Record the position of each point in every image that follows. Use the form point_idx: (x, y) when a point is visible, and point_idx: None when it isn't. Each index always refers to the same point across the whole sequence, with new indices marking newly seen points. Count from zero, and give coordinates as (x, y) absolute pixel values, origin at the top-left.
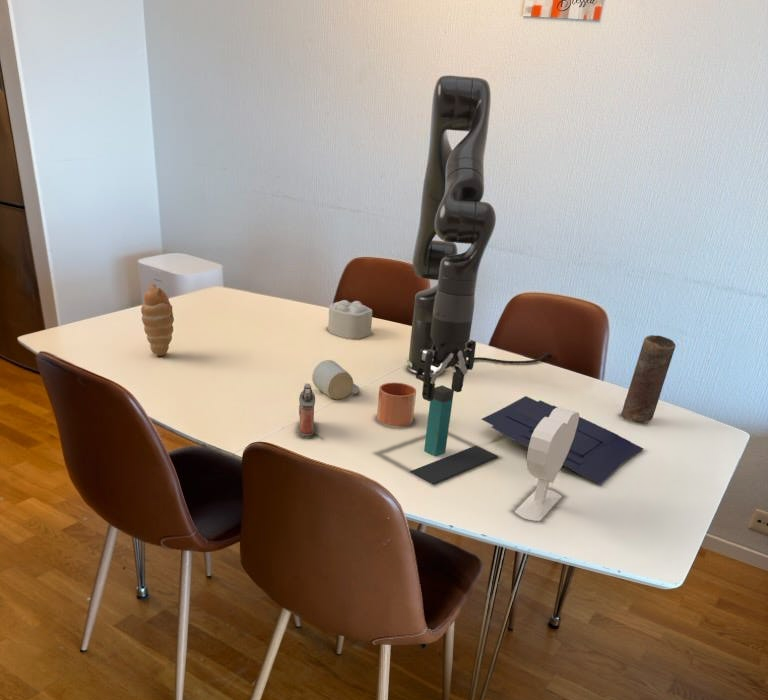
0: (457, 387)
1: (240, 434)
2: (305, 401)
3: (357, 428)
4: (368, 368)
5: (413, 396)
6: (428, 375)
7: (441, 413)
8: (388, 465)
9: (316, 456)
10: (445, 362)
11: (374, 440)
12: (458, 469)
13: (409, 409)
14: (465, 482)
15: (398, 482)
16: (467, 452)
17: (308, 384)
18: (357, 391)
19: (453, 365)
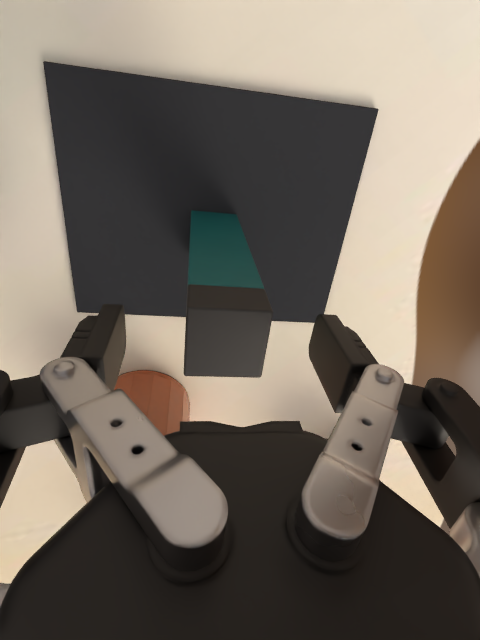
0: (120, 327)
1: (411, 481)
2: None
3: (247, 415)
4: (6, 565)
5: None
6: (458, 408)
7: (252, 266)
8: (353, 267)
9: (410, 377)
10: (364, 457)
11: (267, 364)
12: (249, 107)
13: (137, 403)
14: (296, 34)
15: (419, 191)
16: (126, 164)
17: None
18: None
19: (202, 428)
